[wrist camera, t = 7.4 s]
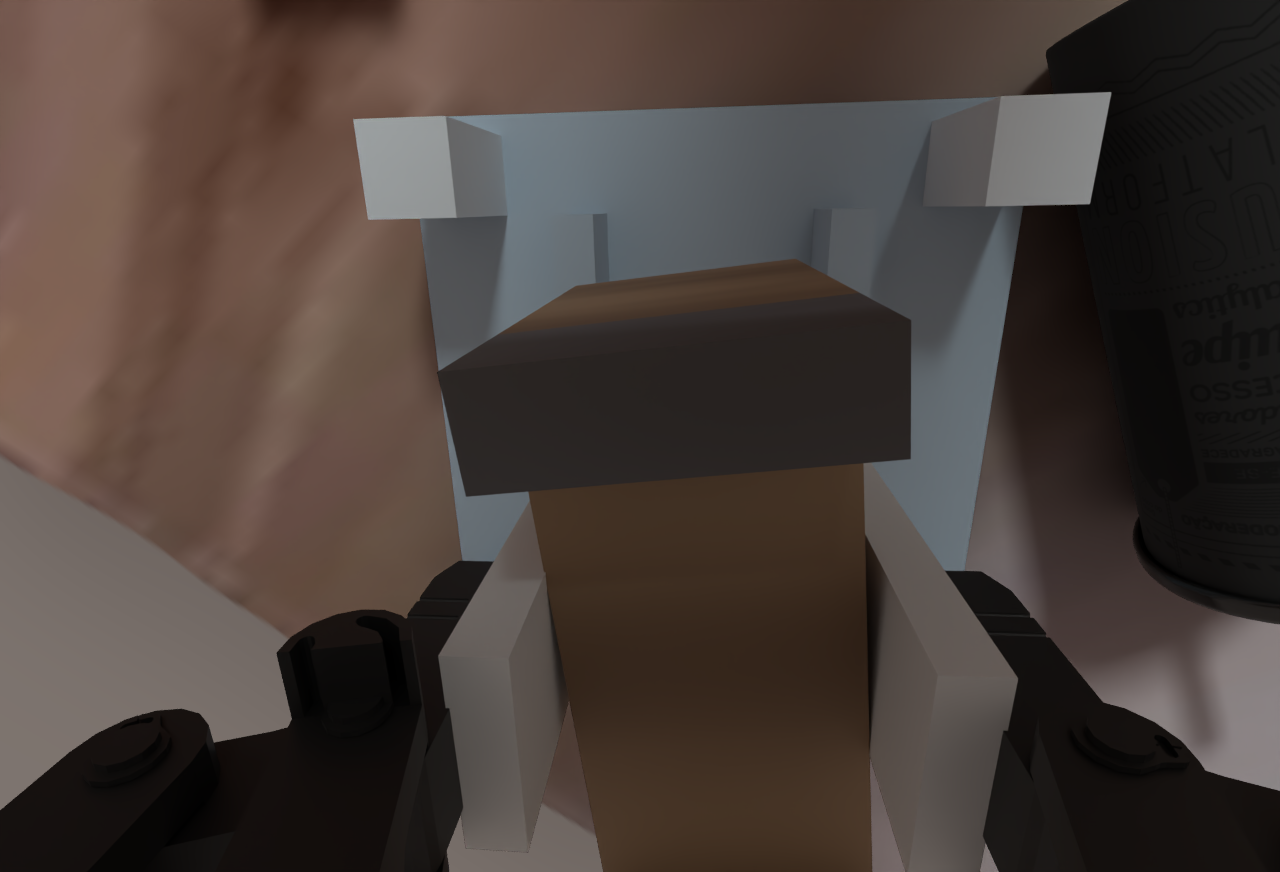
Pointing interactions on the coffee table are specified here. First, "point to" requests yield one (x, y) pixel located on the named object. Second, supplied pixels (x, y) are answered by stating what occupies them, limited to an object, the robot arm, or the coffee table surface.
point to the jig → (748, 236)
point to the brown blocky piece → (703, 547)
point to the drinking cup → (1191, 282)
